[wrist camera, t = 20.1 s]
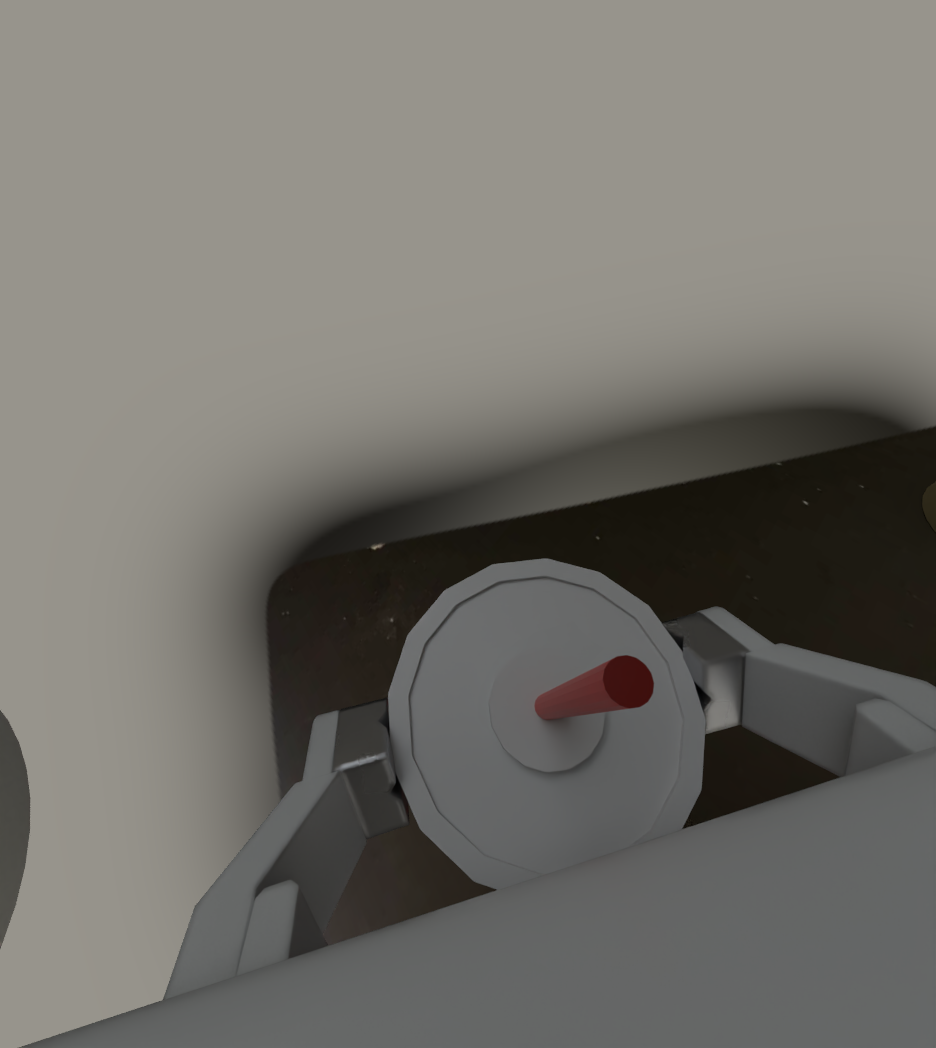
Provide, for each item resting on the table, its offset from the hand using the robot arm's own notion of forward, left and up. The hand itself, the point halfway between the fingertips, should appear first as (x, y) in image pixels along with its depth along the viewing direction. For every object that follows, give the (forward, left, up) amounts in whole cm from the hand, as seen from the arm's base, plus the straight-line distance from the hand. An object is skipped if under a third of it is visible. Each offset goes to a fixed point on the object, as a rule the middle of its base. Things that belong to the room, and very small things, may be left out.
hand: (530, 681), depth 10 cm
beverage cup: (0, -1, -8) cm, 8 cm away
